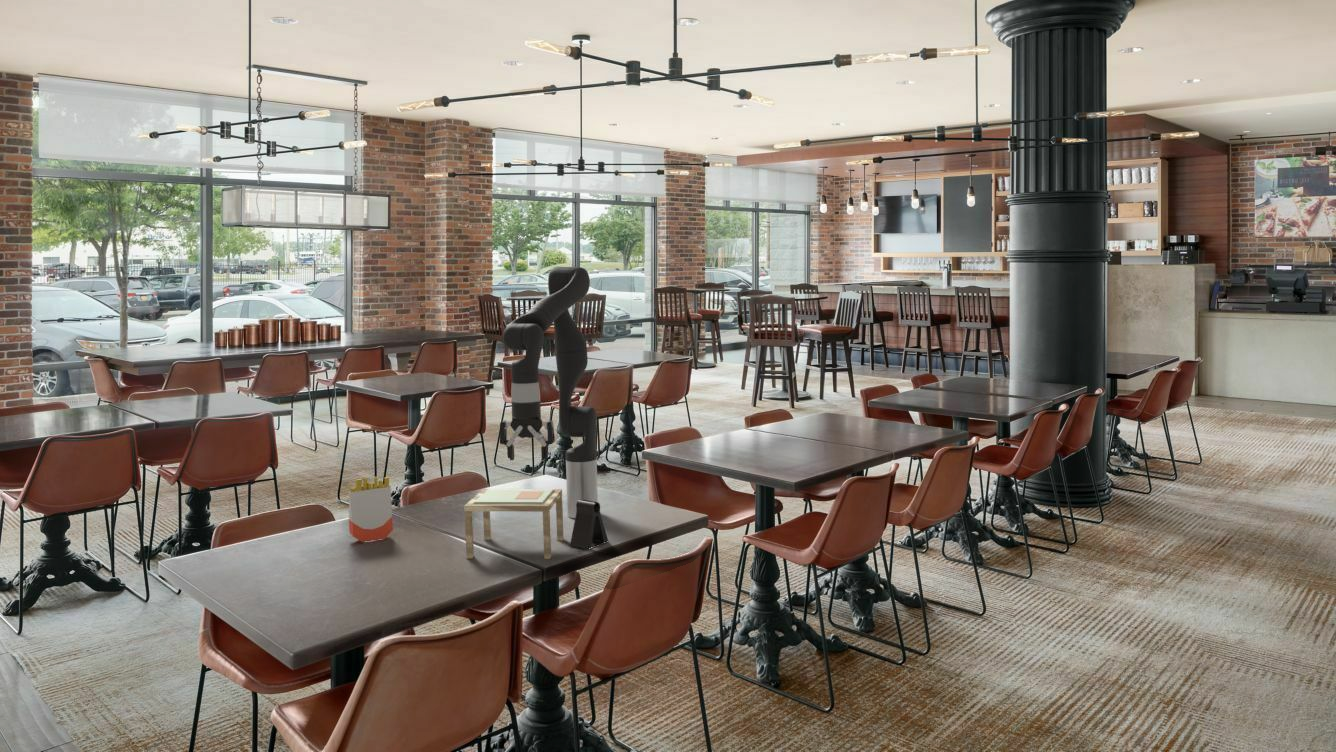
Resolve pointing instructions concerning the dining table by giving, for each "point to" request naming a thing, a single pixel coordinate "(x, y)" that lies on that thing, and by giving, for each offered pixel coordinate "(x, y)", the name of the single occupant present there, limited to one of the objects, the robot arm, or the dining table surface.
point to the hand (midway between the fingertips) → (528, 459)
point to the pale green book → (514, 496)
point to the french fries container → (370, 510)
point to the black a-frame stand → (588, 526)
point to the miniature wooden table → (486, 509)
